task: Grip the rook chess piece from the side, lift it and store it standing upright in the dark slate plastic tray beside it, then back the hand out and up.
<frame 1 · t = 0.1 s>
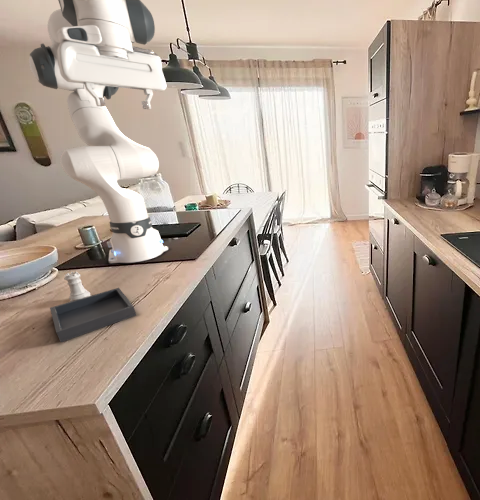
hand: (125, 107, 71), 48 cm above the counter, tool pointing down, fingers open, 8 cm apart
tray: (95, 316, 70), on the counter
rook chess piece: (81, 301, 77), on the counter
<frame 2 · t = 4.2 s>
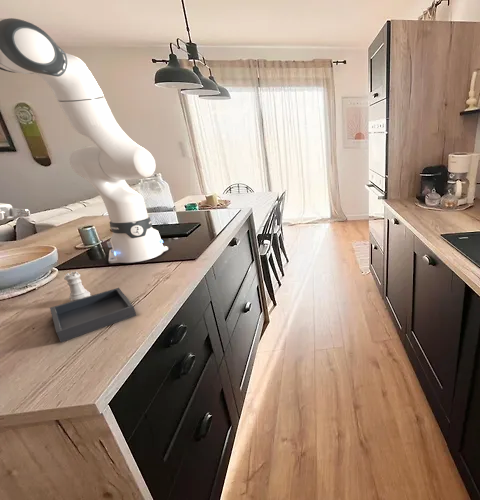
hand: (17, 214, 67), 24 cm above the counter, tool horizontal, fingers open, 8 cm apart
nothing on the counter moved.
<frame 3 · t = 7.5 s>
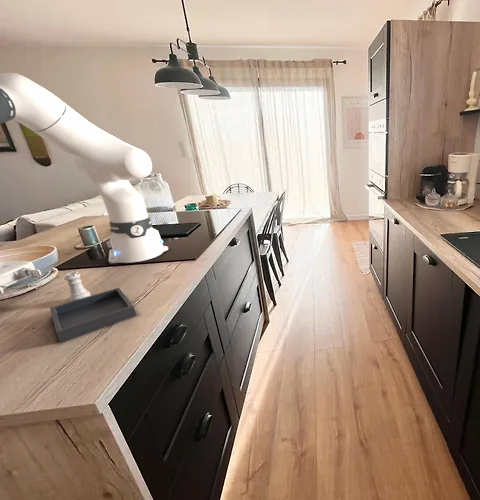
hand: (22, 281, 73), 7 cm above the counter, tool horizontal, fingers open, 8 cm apart
nothing on the counter moved.
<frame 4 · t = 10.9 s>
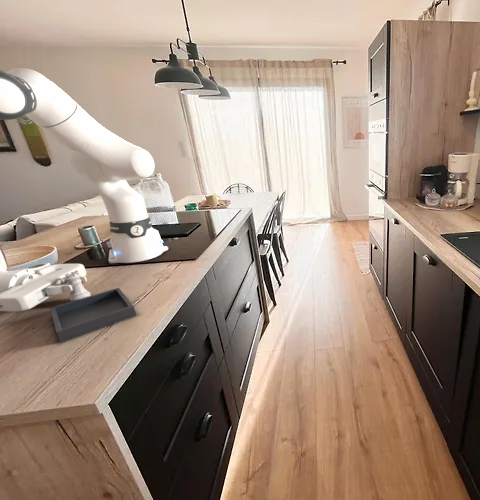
hand: (79, 283, 76), 5 cm above the counter, tool horizontal, fingers closed on rook chess piece, 3 cm apart
rook chess piece: (81, 300, 77), on the counter, touching gripper
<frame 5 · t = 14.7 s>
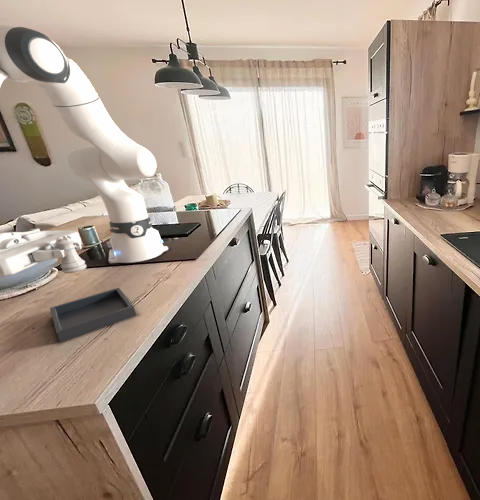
hand: (72, 249, 66), 17 cm above the counter, tool horizontal, fingers closed on rook chess piece, 3 cm apart
rook chess piece: (75, 270, 67), point 12 cm above the counter, touching gripper
when the fingers open (6 cm above the counter, at t = 18.3 s): rook chess piece stays where it is, resting on tray.
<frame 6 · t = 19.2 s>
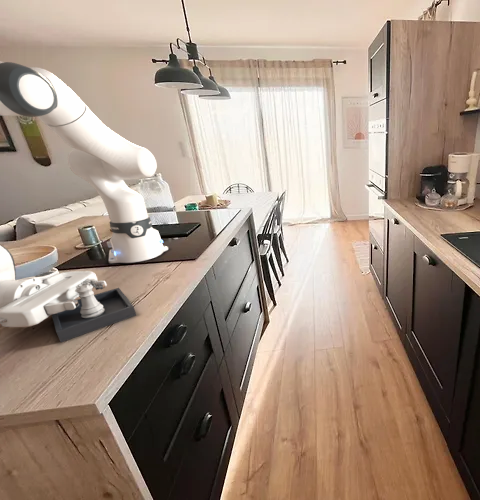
hand: (91, 293, 68), 6 cm above the counter, tool horizontal, fingers open, 8 cm apart
rook chess piece: (94, 314, 70), resting on tray
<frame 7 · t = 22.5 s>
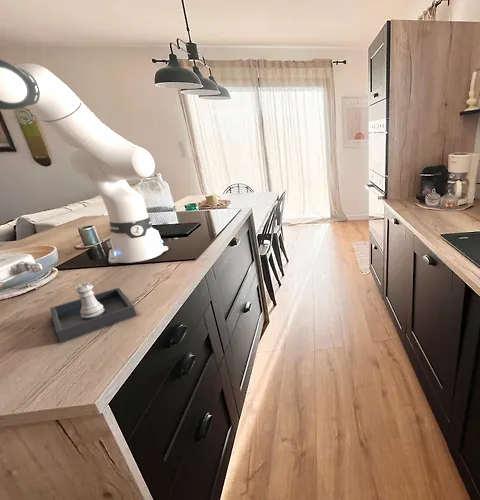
hand: (21, 276, 65), 12 cm above the counter, tool horizontal, fingers open, 8 cm apart
nothing on the counter moved.
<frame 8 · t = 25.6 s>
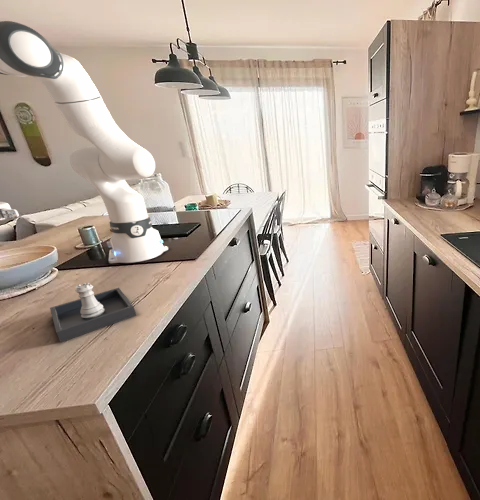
nothing on the counter moved.
at the end: rook chess piece inside the target area in the tray (0.1 cm from its centre), point 0.4 cm above the tray's base; rook chess piece tilted 0°; the gripper is holding nothing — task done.
